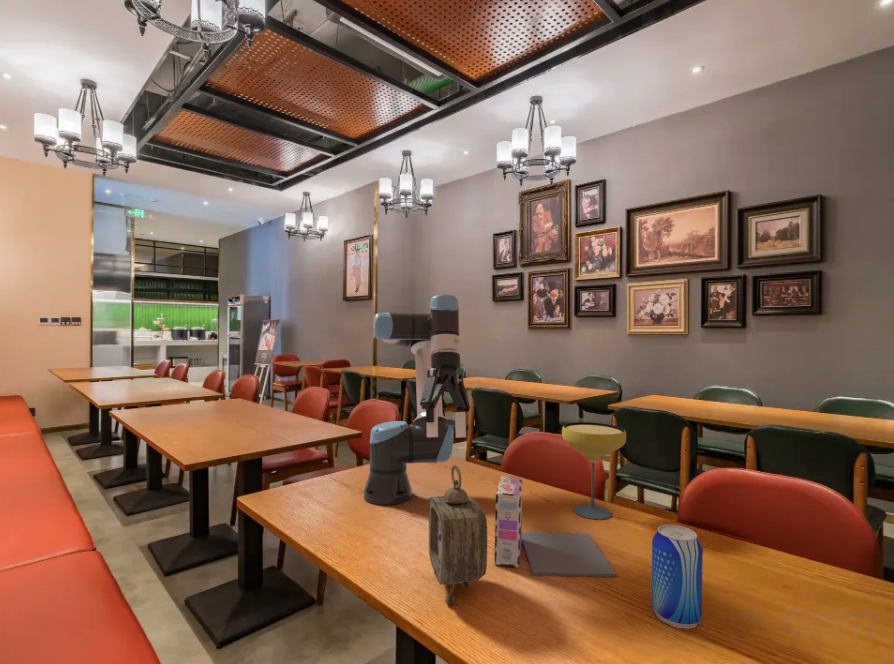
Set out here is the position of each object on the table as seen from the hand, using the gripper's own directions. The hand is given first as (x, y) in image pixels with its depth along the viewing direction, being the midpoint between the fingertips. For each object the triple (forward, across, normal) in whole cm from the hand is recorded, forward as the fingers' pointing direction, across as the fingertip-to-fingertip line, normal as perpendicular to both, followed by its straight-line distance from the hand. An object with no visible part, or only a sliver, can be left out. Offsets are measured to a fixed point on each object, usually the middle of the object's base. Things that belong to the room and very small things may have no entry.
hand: (447, 437), depth 113 cm
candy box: (+27, +10, -11) cm, 31 cm away
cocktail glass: (+22, +46, -22) cm, 55 cm away
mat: (+28, +16, -22) cm, 39 cm away
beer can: (+34, +4, -46) cm, 58 cm away
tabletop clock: (+31, -10, -7) cm, 33 cm away
